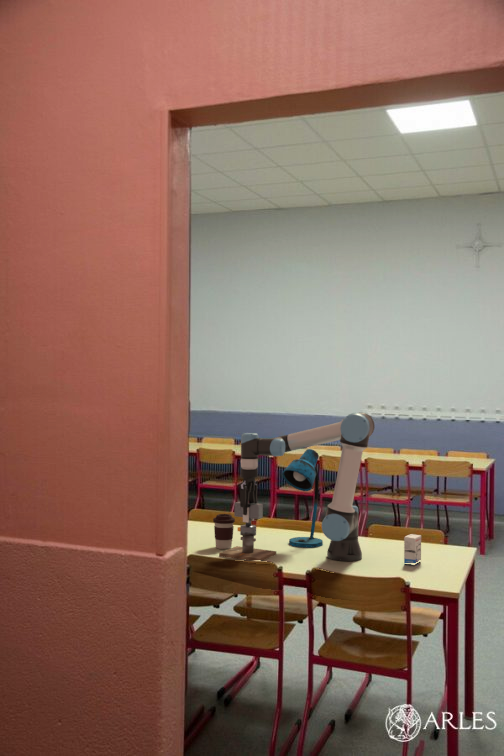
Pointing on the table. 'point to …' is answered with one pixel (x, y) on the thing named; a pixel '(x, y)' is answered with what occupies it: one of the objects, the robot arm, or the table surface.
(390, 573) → the table surface
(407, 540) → the ink box
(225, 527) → the coffee cup
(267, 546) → the table surface
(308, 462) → the desk lamp
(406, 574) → the table surface
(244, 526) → the twist cap
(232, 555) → the post base
